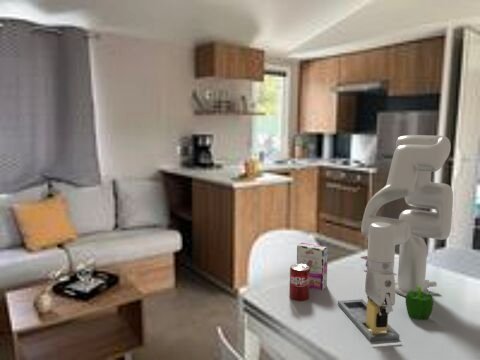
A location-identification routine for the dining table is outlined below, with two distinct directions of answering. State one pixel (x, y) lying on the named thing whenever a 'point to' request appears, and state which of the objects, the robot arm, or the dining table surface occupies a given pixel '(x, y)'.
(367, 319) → the yellow block
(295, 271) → the soda can
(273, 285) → the dining table surface
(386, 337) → the gray recessed board
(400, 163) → the robot arm
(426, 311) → the bell pepper
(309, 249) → the candy bar box
